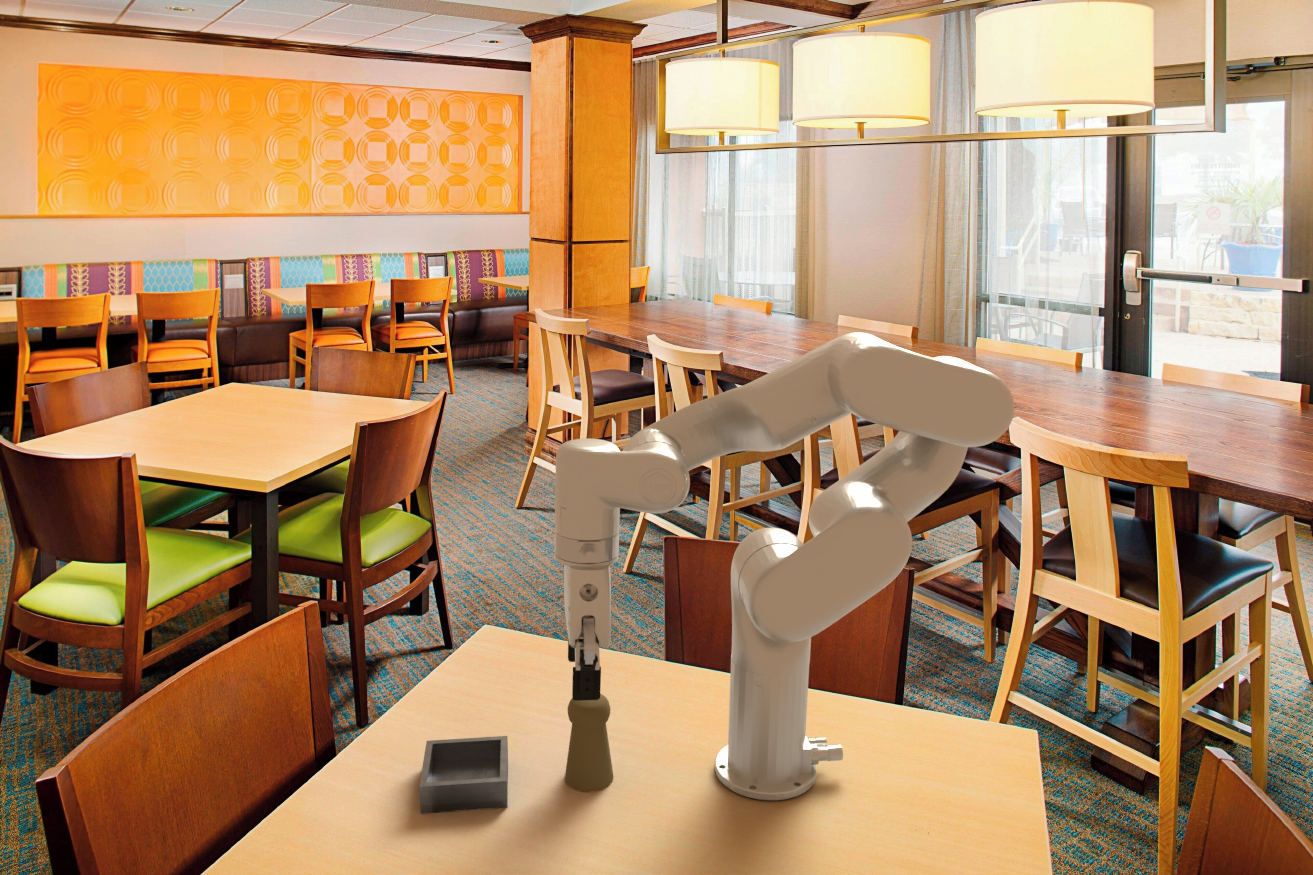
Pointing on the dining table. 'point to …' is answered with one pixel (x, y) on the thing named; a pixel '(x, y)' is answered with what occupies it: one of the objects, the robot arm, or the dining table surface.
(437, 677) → the dining table surface
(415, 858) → the dining table surface
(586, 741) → the cork
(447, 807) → the socket
